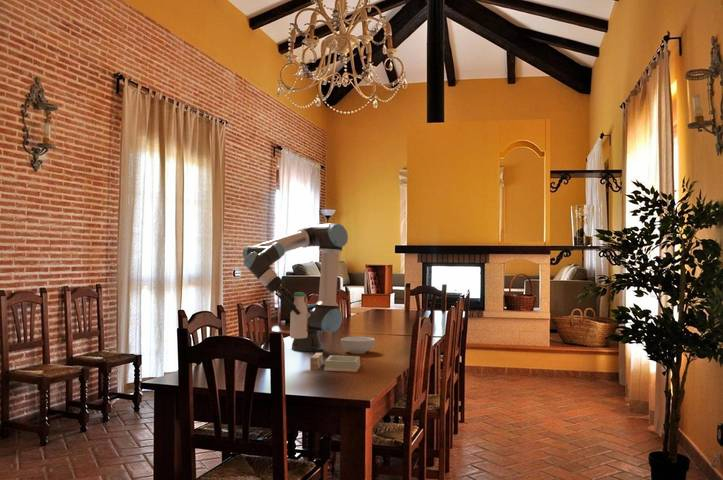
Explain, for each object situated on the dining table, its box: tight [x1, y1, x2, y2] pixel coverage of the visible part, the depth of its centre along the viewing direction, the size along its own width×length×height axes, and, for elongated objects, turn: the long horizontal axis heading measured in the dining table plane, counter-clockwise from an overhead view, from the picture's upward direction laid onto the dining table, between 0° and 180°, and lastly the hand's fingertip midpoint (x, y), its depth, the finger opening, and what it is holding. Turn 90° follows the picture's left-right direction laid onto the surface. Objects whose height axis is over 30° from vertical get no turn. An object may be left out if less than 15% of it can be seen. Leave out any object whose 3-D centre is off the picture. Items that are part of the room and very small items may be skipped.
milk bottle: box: [289, 291, 308, 339], centre depth 265 cm, size 8×8×20 cm
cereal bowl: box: [340, 336, 376, 355], centre depth 301 cm, size 17×17×7 cm
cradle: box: [323, 354, 361, 373], centre depth 262 cm, size 14×14×4 cm
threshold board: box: [309, 352, 324, 371], centre depth 263 cm, size 14×3×5 cm, turn 174°
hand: (306, 318), depth 265 cm, fingers closed on milk bottle, 7 cm apart
